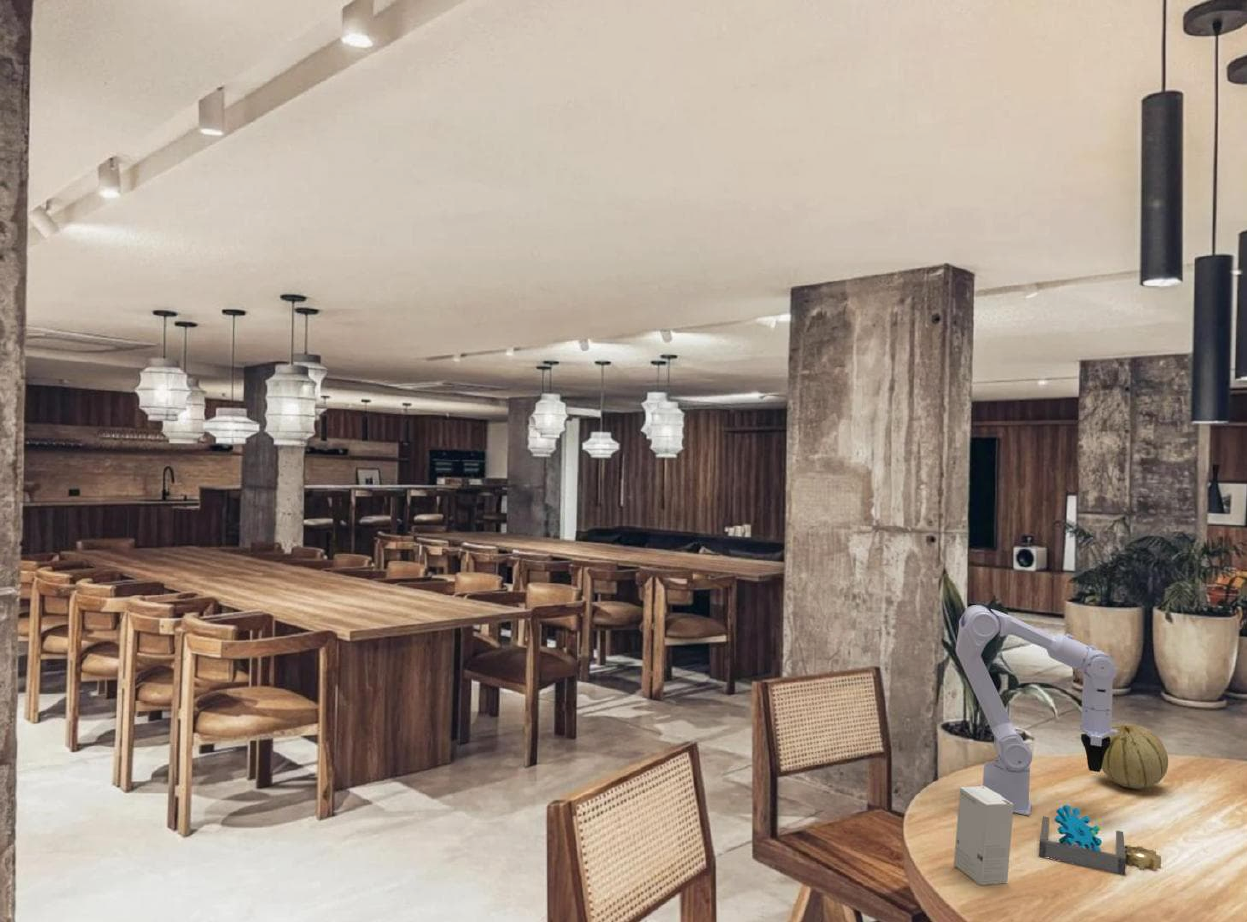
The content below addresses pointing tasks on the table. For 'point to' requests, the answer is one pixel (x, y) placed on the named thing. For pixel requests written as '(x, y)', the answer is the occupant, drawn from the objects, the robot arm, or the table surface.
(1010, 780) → the robot arm
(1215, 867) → the table surface
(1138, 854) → the bracket
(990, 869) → the skincare box
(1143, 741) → the cantaloupe
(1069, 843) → the gear
